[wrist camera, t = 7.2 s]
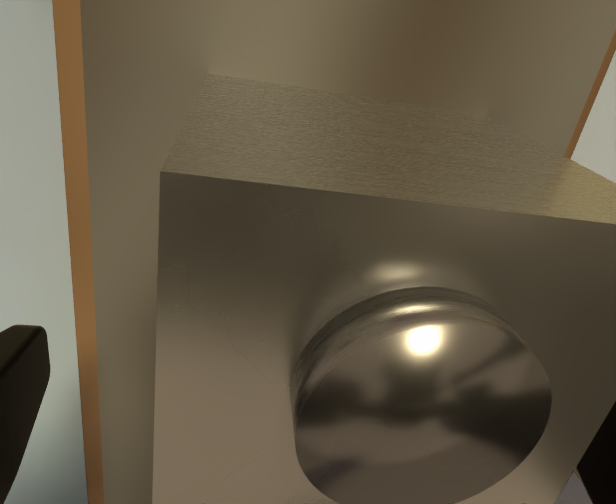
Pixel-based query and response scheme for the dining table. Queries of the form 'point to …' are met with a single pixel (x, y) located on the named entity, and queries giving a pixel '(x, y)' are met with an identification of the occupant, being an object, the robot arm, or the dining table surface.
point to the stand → (274, 69)
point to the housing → (375, 305)
